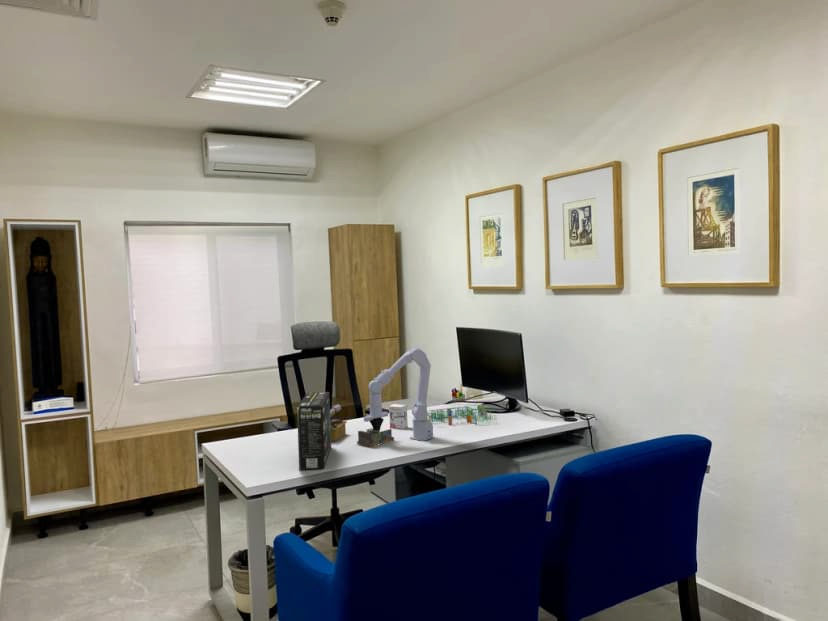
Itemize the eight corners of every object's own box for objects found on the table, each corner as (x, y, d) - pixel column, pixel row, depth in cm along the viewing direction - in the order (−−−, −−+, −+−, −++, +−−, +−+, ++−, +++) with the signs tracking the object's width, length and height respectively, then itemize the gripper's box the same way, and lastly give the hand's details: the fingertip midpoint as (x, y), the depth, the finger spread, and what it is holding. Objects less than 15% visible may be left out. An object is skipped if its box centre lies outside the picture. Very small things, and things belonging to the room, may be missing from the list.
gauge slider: (371, 436, 296) (371, 428, 296) (381, 438, 291) (381, 430, 291) (366, 437, 293) (366, 429, 293) (377, 440, 289) (377, 431, 288)
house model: (477, 412, 354) (477, 404, 353) (502, 423, 326) (502, 414, 326) (421, 419, 342) (420, 411, 341) (441, 430, 314) (441, 421, 314)
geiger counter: (348, 433, 315) (346, 404, 314) (331, 446, 289) (329, 415, 289) (331, 433, 316) (330, 404, 316) (313, 446, 291) (311, 415, 291)
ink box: (389, 428, 322) (388, 405, 322) (394, 425, 327) (393, 403, 326) (403, 429, 318) (402, 406, 318) (408, 427, 323) (407, 404, 322)
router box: (325, 469, 254) (322, 405, 252) (298, 471, 253) (295, 406, 252) (332, 446, 289) (329, 390, 288) (308, 448, 289) (306, 391, 287)
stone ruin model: (380, 437, 303) (380, 424, 303) (394, 439, 297) (393, 426, 297) (357, 444, 291) (356, 430, 291) (370, 447, 285) (369, 433, 285)
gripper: (380, 402, 302) (381, 429, 303) (359, 407, 292) (360, 435, 292) (390, 403, 298) (391, 431, 298) (369, 409, 287) (370, 437, 288)
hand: (376, 433), depth 295 cm, fingers closed
